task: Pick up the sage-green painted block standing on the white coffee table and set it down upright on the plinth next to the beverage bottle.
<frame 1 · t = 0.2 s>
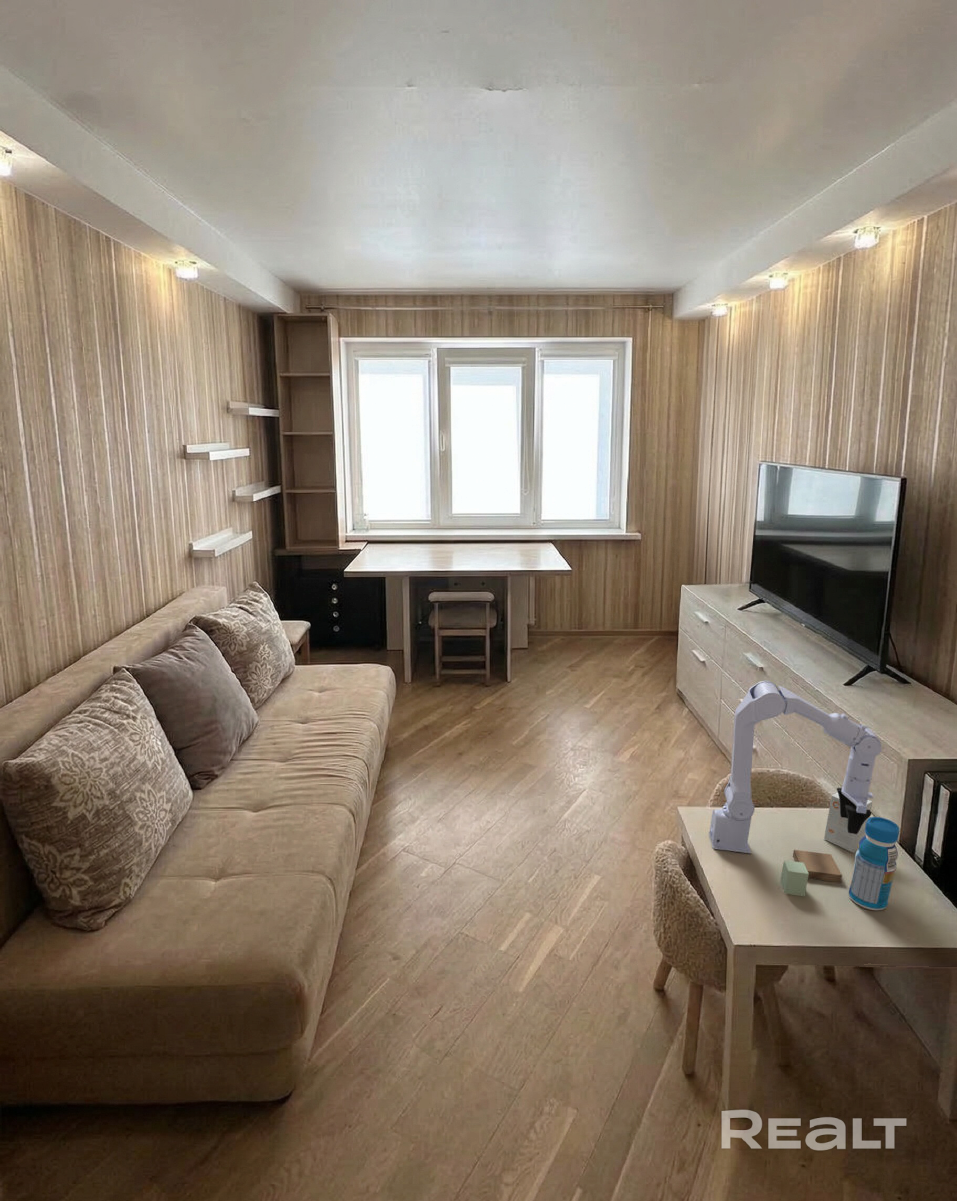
hand: (848, 825, 191), 10 cm above the table, fingers open, 7 cm apart
block: (792, 889, 180), on the table
beverage bottle: (867, 901, 177), on the table
plinth: (815, 869, 189), on the table
small box: (843, 843, 201), on the table
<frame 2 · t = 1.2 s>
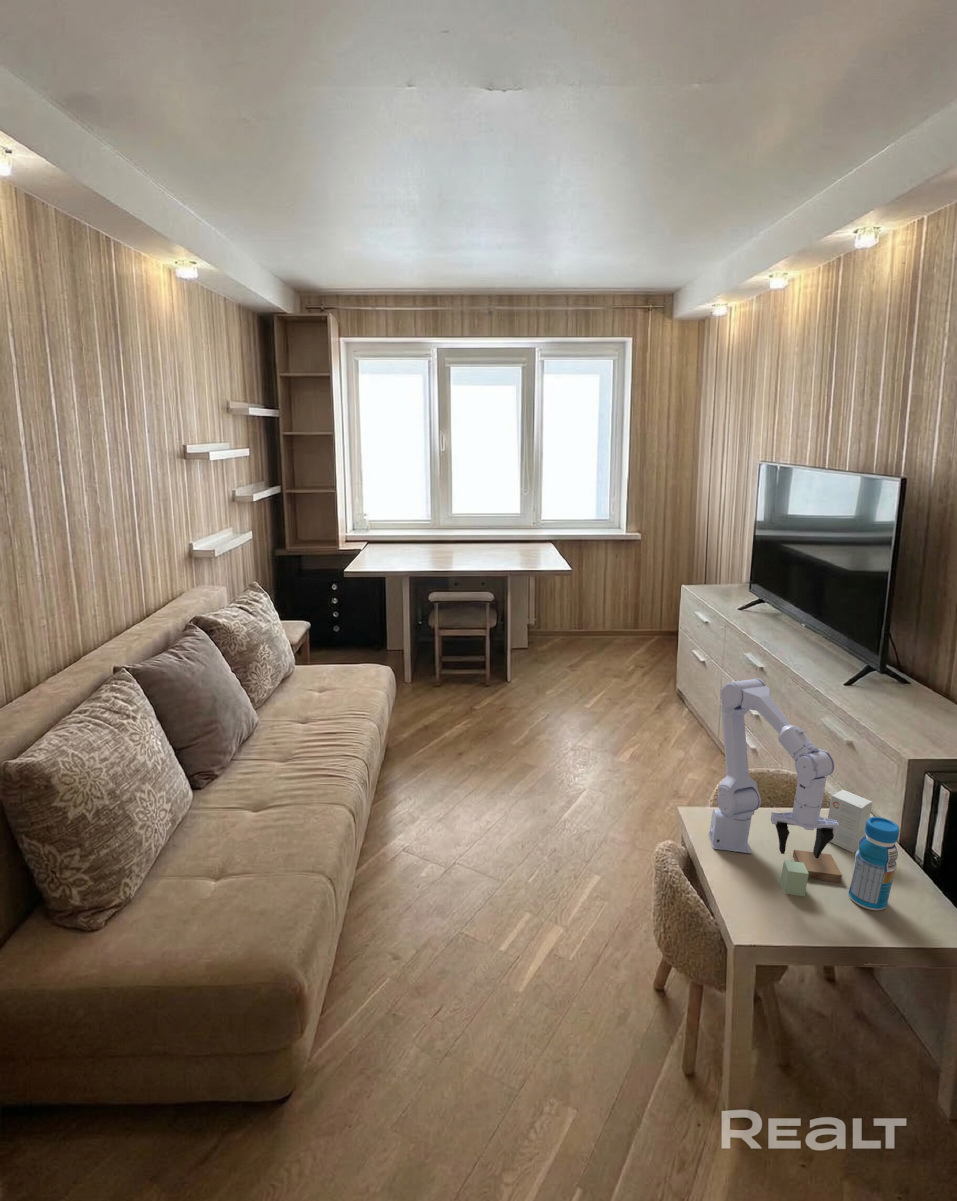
hand: (798, 853, 178), 9 cm above the table, fingers open, 7 cm apart
nothing on the table moved.
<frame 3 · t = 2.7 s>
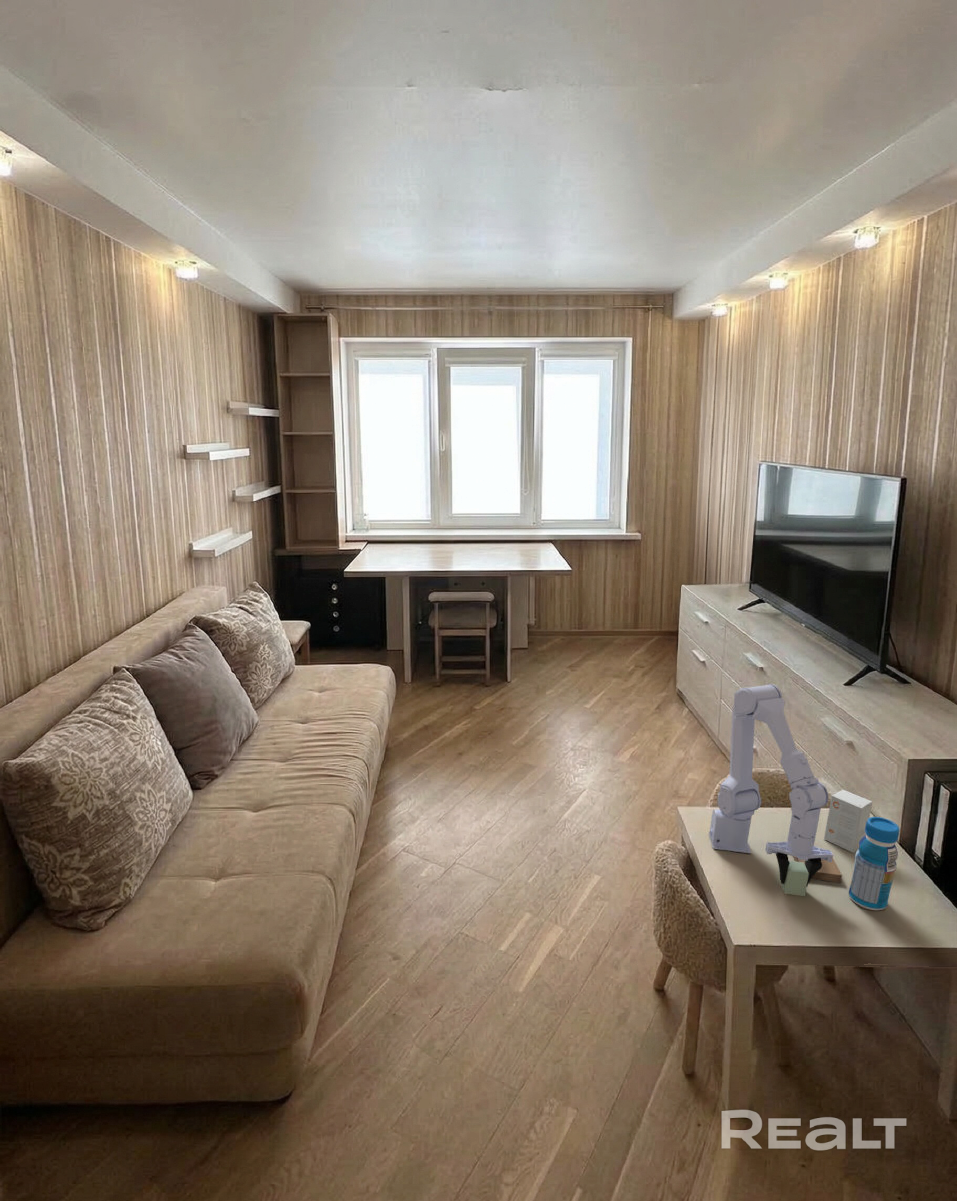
hand: (793, 883, 180), 2 cm above the table, fingers closed on block, 4 cm apart
block: (792, 889, 180), on the table, touching gripper
everything else where it was.
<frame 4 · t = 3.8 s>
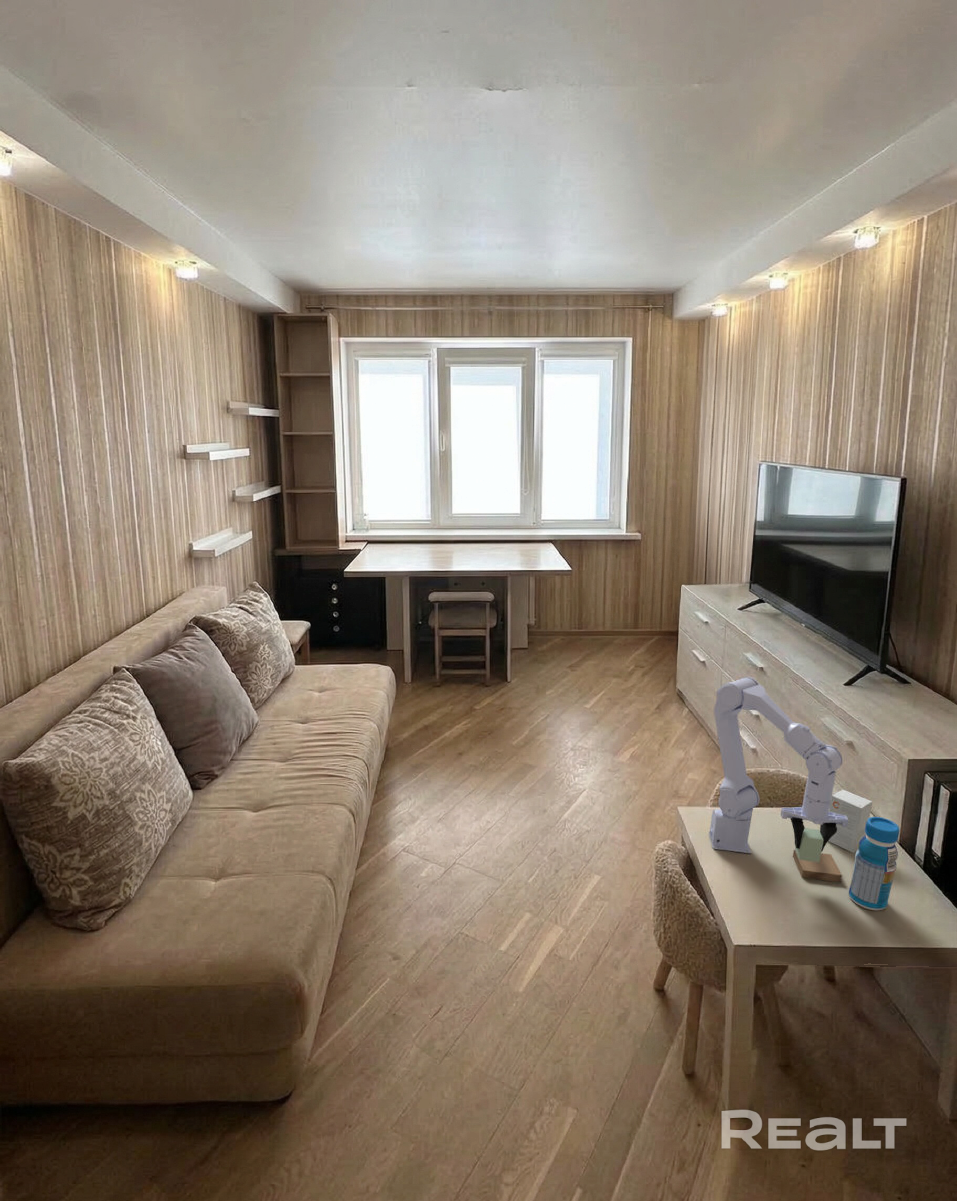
hand: (808, 847, 181), 9 cm above the table, fingers closed on block, 4 cm apart
block: (807, 855, 182), point 7 cm above the table, touching gripper
everything else where it was.
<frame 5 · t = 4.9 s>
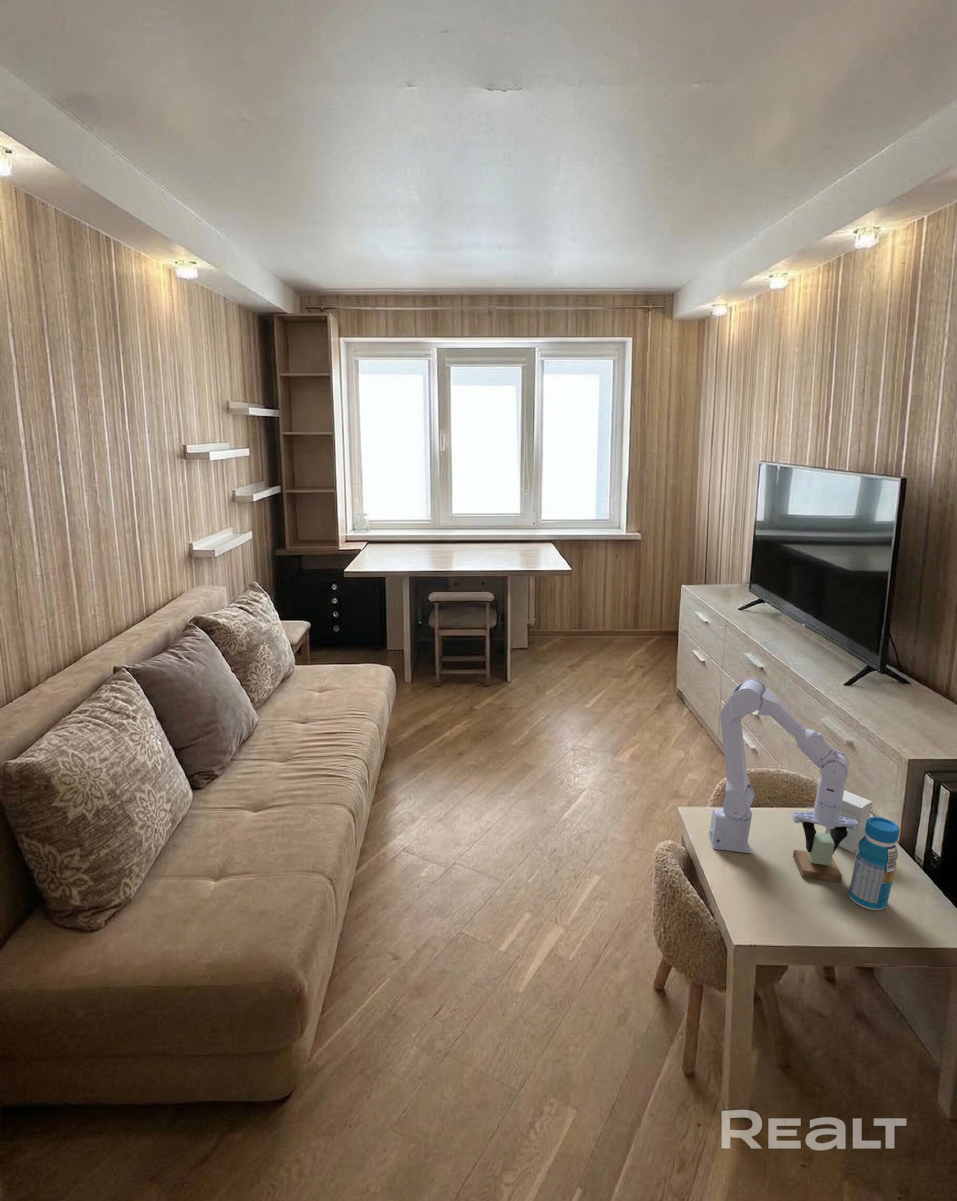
hand: (819, 851, 187), 5 cm above the table, fingers closed on block, 4 cm apart
block: (818, 859, 188), point 3 cm above the table, touching gripper
everything else where it was.
when the fingers open (5 cm above the table, at t = 5.4 s): block stays where it is, resting on plinth.
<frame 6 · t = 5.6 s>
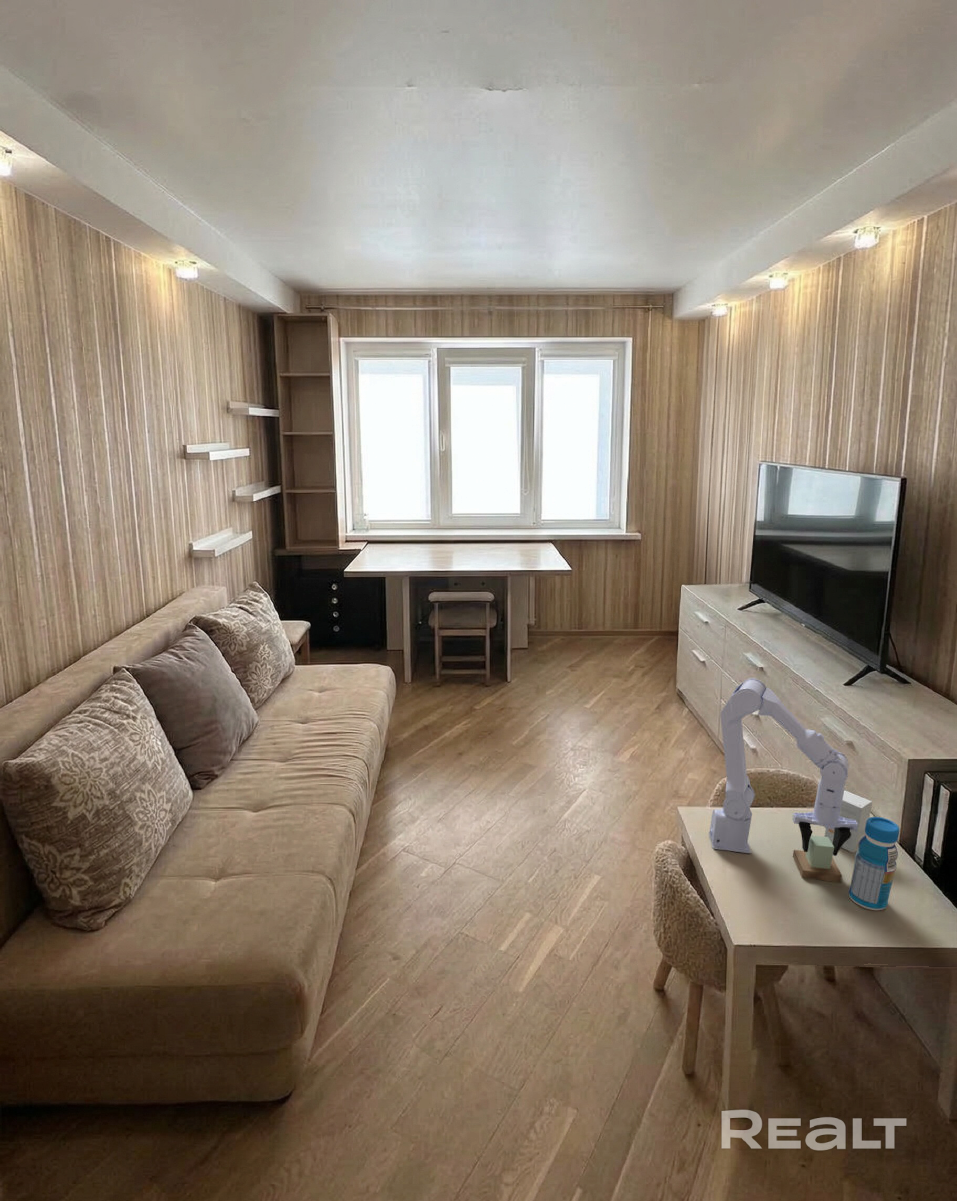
hand: (819, 851, 187), 5 cm above the table, fingers open, 6 cm apart
block: (817, 862, 188), point 2 cm above the table, touching plinth
everything else where it was.
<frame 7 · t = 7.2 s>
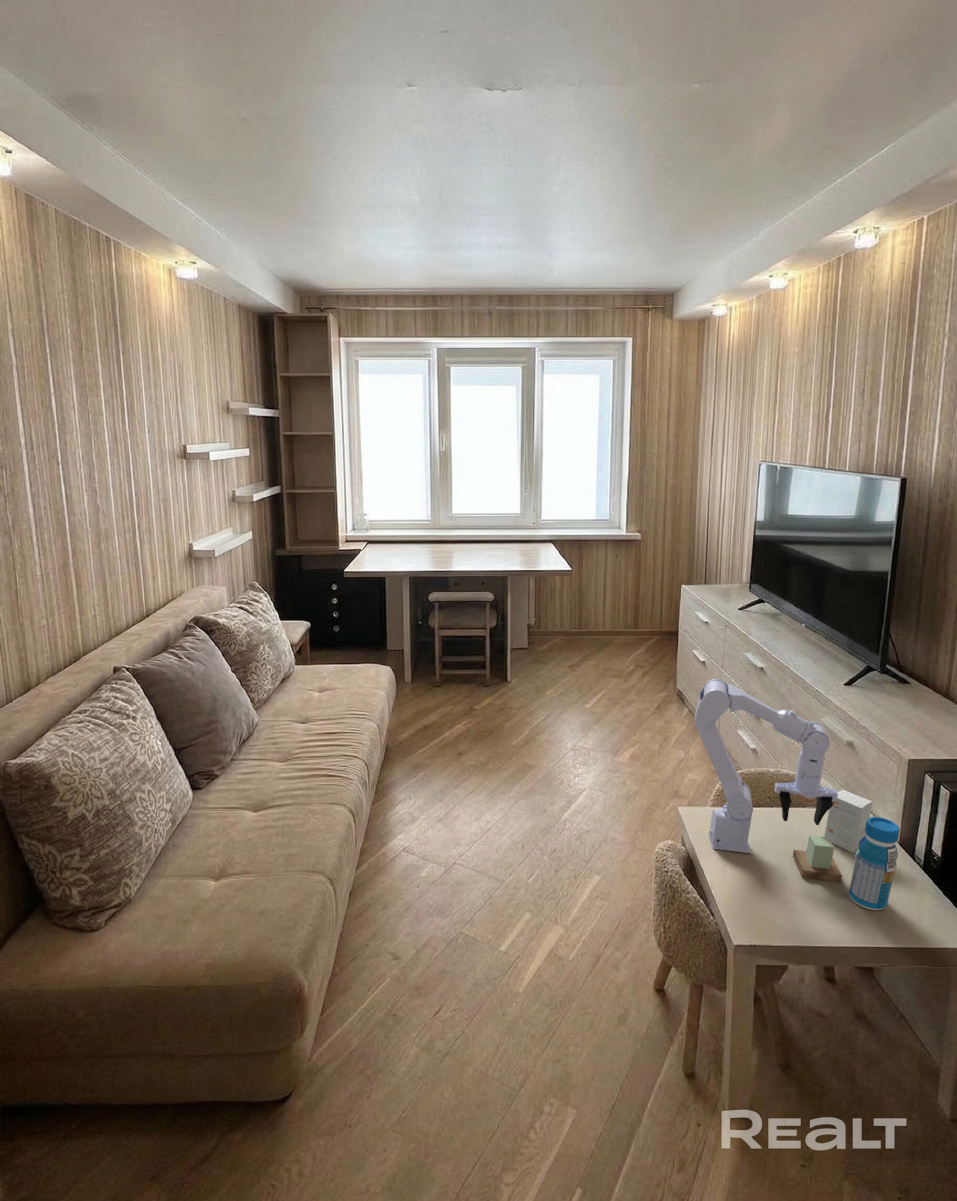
hand: (800, 821, 191), 10 cm above the table, fingers open, 7 cm apart
nothing on the table moved.
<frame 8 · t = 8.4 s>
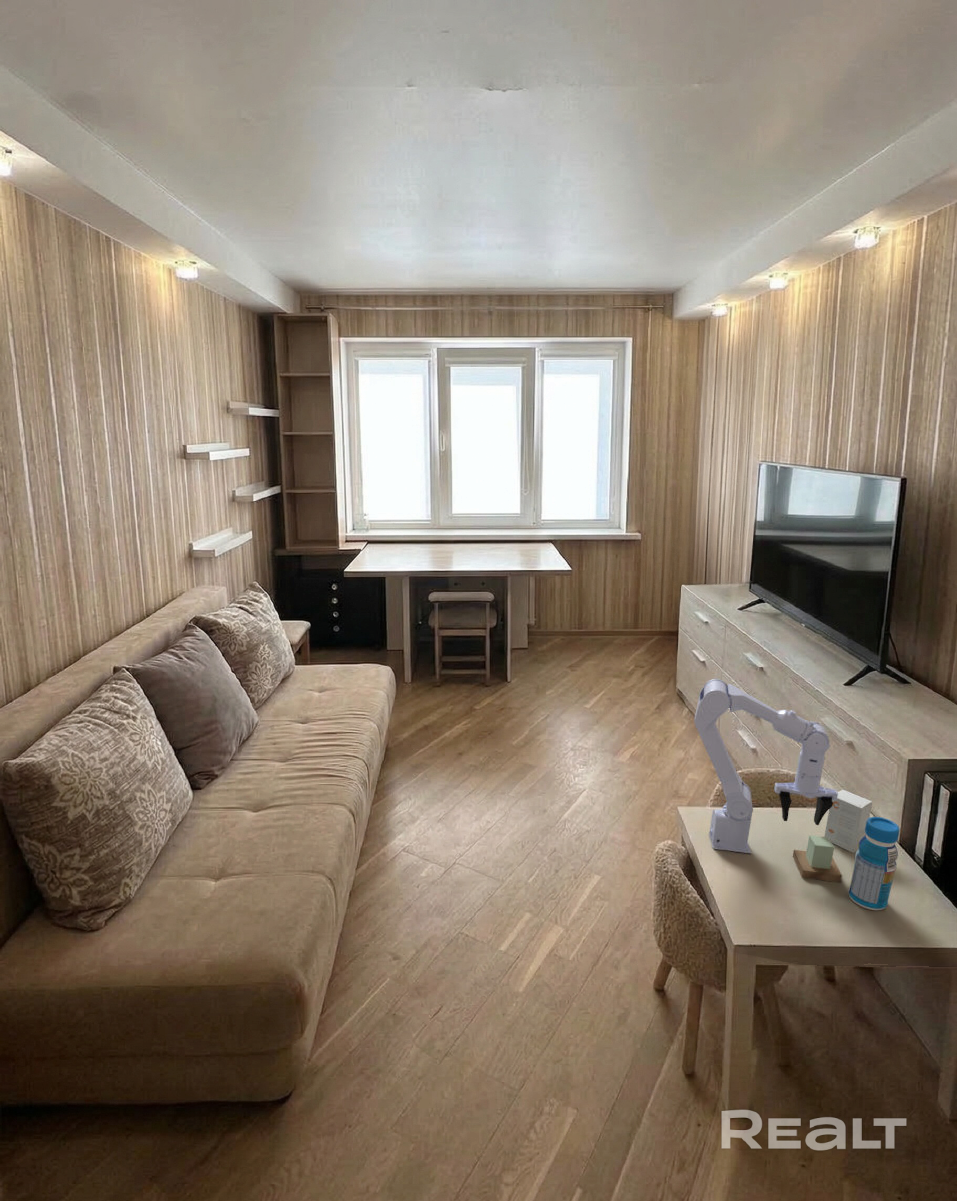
hand: (800, 821, 191), 10 cm above the table, fingers open, 7 cm apart
nothing on the table moved.
at the end: block inside the target area on the plinth (0.3 cm from its centre), point 2.0 cm above the plinth's base; block tilted 0°; the gripper is holding nothing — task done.
